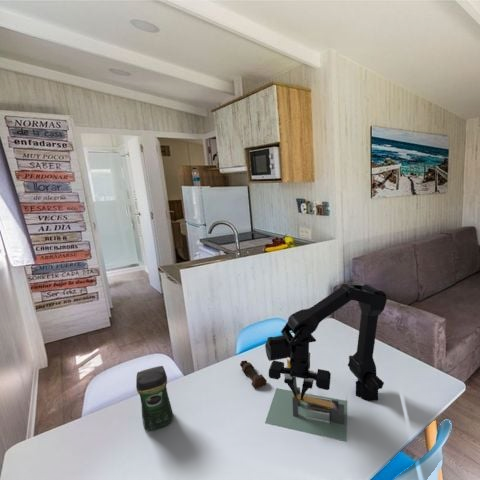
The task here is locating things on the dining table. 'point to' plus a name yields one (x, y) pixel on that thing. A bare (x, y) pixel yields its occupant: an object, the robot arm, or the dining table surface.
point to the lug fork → (296, 404)
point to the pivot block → (337, 413)
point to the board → (303, 417)
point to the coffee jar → (154, 398)
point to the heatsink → (318, 412)
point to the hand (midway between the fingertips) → (299, 397)
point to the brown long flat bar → (316, 401)
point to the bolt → (253, 375)
